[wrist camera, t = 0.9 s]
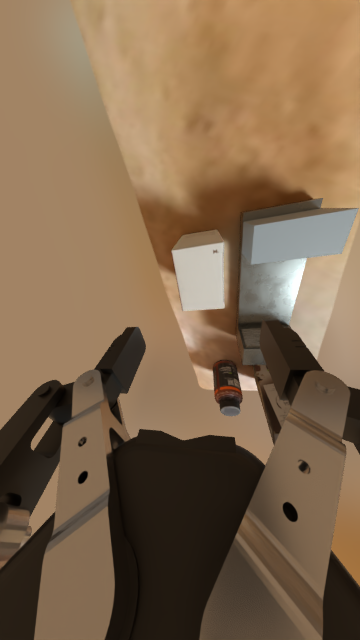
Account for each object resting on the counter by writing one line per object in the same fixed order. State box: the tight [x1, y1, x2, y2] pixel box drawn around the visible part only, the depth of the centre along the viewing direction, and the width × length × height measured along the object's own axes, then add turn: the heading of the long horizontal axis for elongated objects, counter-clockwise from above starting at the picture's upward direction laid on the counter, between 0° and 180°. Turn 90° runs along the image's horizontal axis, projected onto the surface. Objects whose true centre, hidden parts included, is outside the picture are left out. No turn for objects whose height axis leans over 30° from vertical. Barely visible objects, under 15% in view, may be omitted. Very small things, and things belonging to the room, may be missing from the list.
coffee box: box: [253, 365, 291, 445], centre depth 33 cm, size 9×6×16 cm
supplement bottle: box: [213, 361, 243, 416], centre depth 37 cm, size 6×6×11 cm
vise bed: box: [236, 198, 323, 365], centre depth 25 cm, size 23×9×8 cm, turn 10°
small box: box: [171, 229, 225, 311], centre depth 22 cm, size 8×6×10 cm
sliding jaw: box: [242, 208, 359, 265], centre depth 19 cm, size 4×9×6 cm, turn 100°
